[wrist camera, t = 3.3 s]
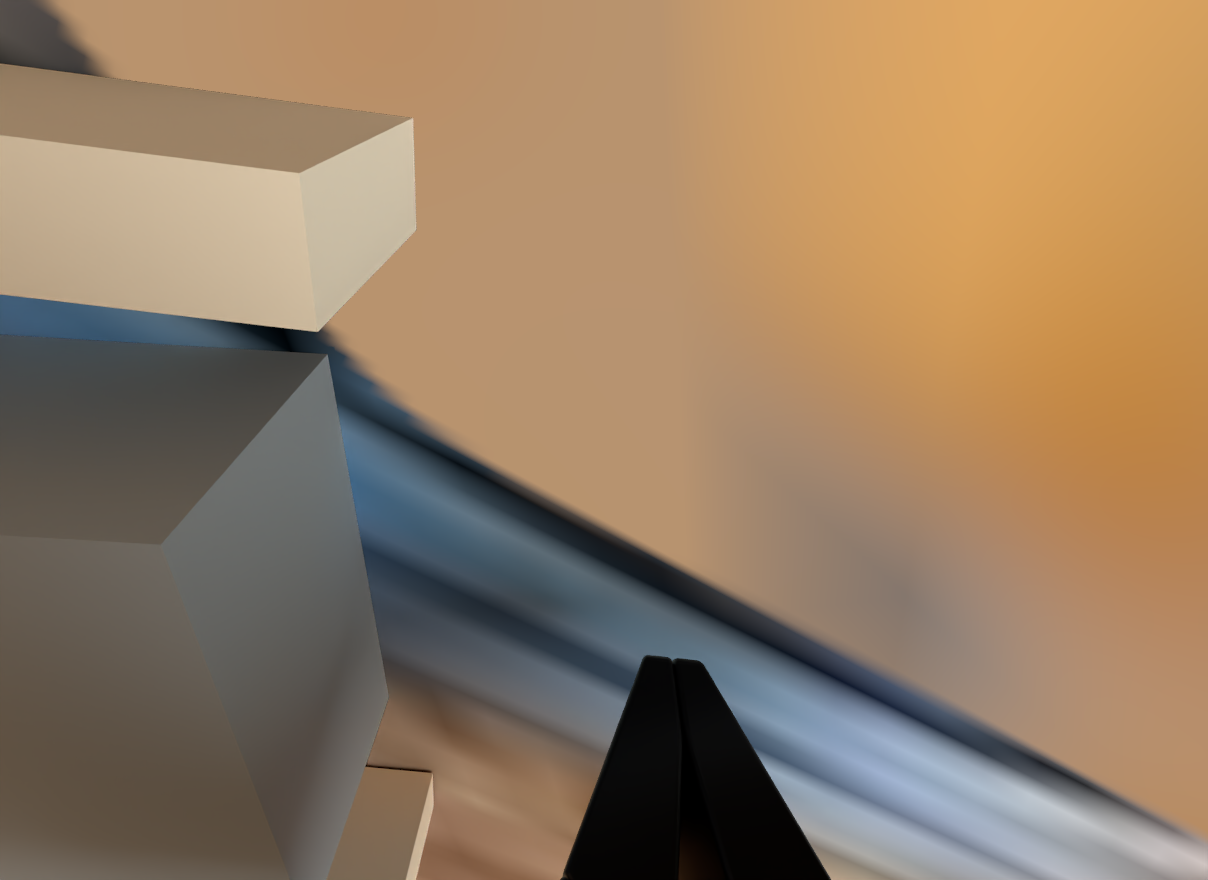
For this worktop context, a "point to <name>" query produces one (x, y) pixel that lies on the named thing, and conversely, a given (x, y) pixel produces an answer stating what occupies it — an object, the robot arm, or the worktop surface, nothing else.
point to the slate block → (178, 614)
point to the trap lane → (213, 256)
